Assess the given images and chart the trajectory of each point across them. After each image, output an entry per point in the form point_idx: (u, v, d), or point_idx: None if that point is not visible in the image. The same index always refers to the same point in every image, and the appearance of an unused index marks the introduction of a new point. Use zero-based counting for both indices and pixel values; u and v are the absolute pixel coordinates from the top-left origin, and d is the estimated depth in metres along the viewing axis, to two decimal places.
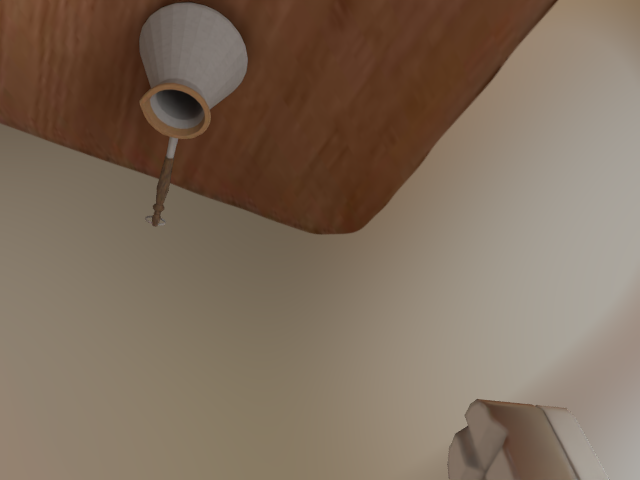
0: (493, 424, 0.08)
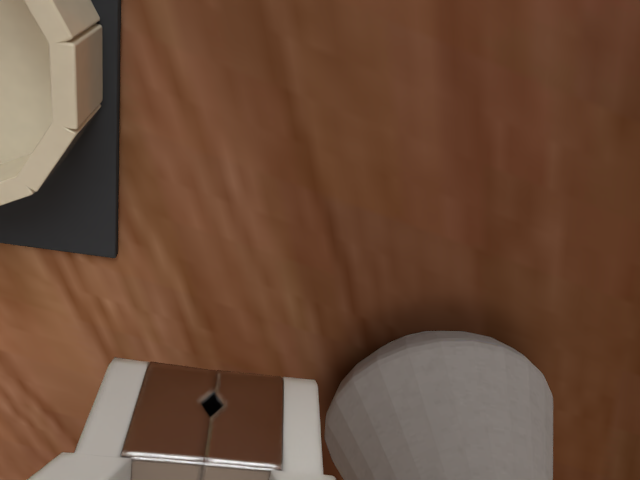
0: (213, 395, 0.07)
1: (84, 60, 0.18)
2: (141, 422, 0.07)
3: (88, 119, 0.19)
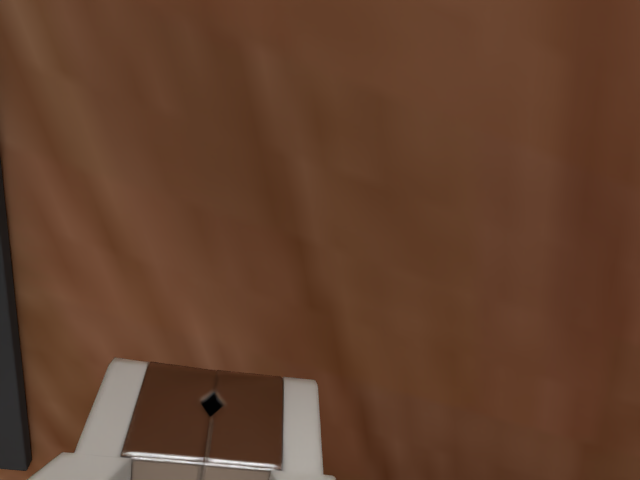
0: (214, 395, 0.07)
1: None
2: (141, 422, 0.07)
3: None
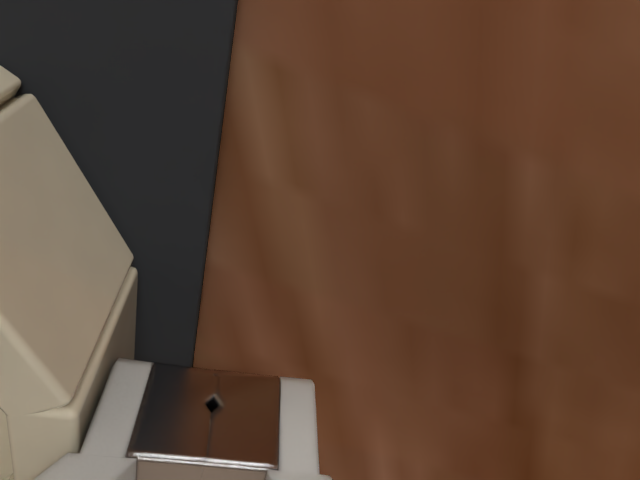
0: (210, 394, 0.07)
1: (98, 401, 0.07)
2: (146, 422, 0.07)
3: None
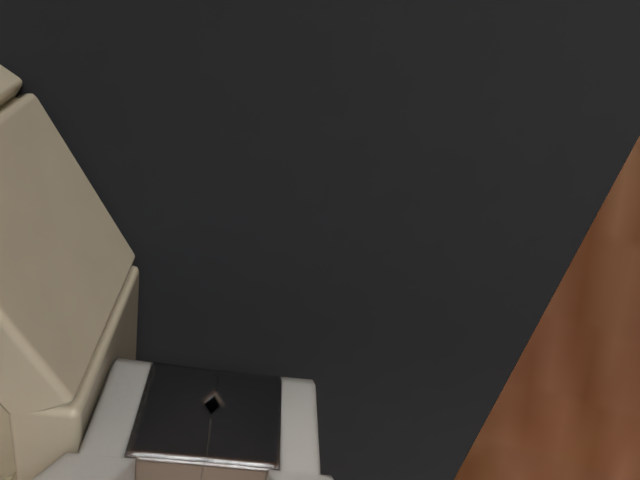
0: (211, 394, 0.07)
1: None
2: (145, 422, 0.07)
3: None
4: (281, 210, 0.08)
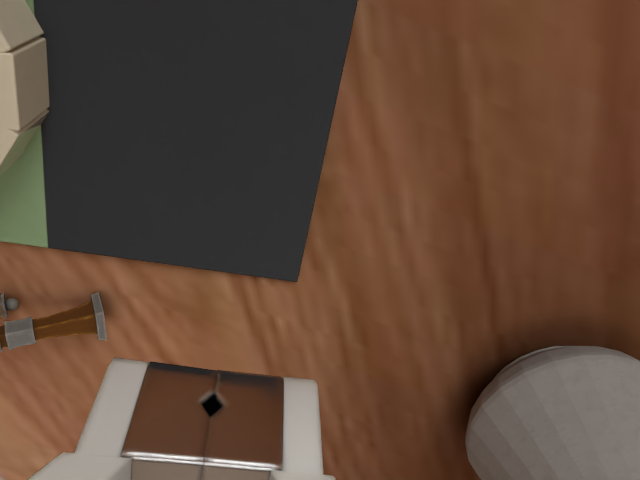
0: (214, 395, 0.07)
1: (24, 68, 0.20)
2: (141, 422, 0.07)
3: (33, 122, 0.21)
4: (223, 33, 0.21)
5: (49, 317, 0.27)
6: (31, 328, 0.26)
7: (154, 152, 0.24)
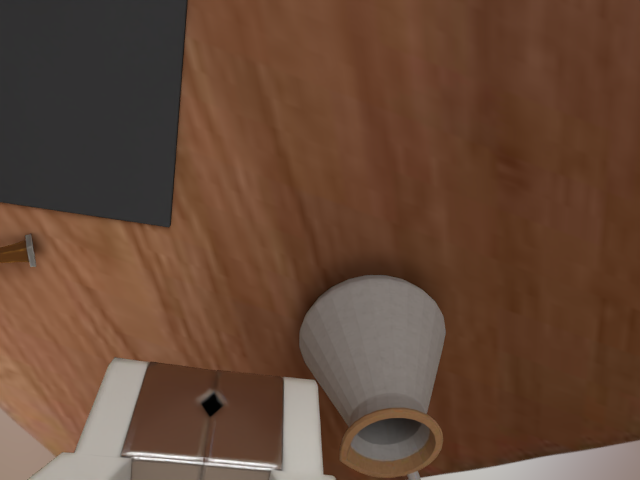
0: (213, 395, 0.07)
1: None
2: (141, 422, 0.07)
3: None
4: (99, 58, 0.33)
5: None
6: None
7: (60, 135, 0.36)
